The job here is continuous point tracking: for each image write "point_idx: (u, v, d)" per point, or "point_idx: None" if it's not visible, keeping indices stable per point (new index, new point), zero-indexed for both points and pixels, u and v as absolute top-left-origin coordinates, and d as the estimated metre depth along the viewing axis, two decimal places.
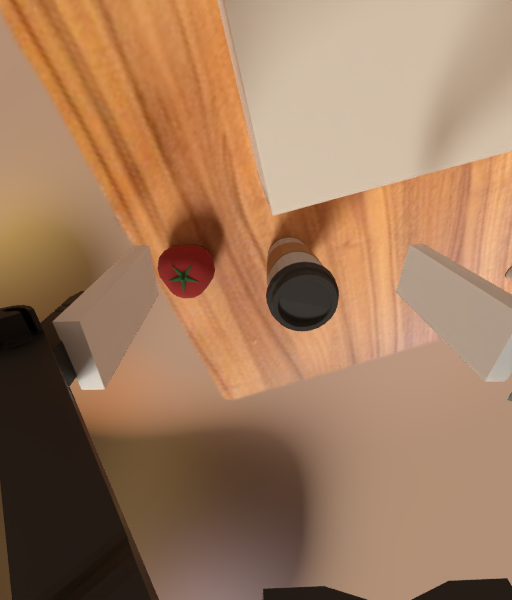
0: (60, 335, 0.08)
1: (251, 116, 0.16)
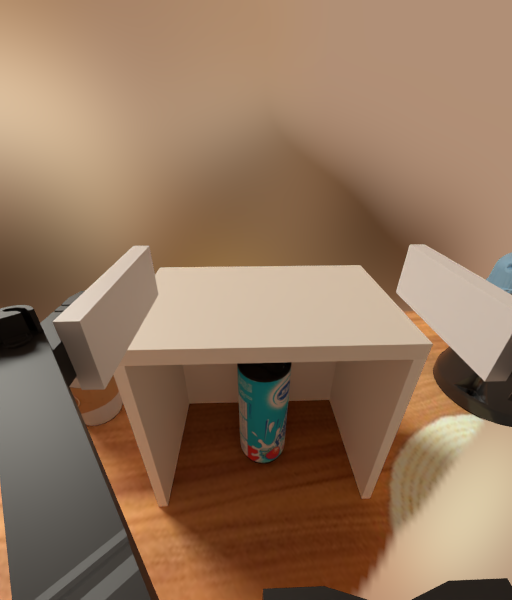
0: (60, 335, 0.08)
1: (208, 267, 0.33)
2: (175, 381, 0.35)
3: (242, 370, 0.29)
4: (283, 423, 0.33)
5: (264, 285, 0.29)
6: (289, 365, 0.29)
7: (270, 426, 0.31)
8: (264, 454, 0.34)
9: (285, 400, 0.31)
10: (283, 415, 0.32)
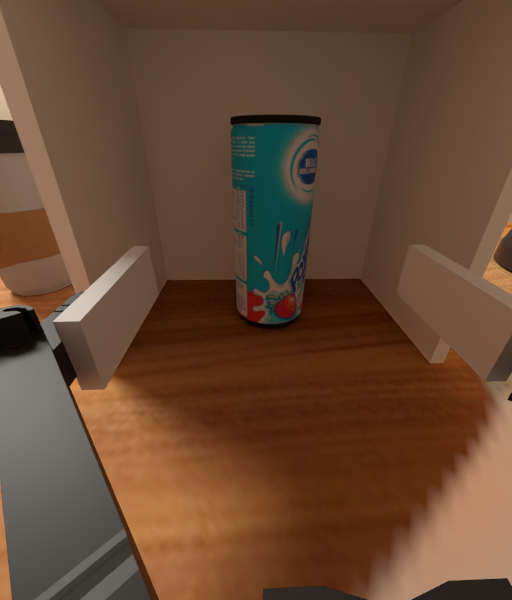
0: (60, 335, 0.08)
1: None
2: (138, 203, 0.23)
3: None
4: (303, 249, 0.21)
5: None
6: None
7: (284, 240, 0.19)
8: (272, 306, 0.22)
9: (309, 193, 0.19)
10: (304, 228, 0.20)
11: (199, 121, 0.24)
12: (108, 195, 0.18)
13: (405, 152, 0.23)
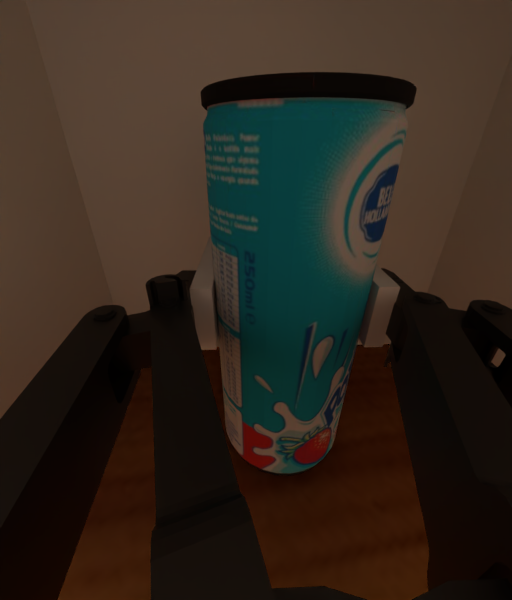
0: (192, 301, 0.10)
1: None
2: (50, 254, 0.13)
3: None
4: (352, 355, 0.11)
5: None
6: None
7: (318, 353, 0.09)
8: (290, 451, 0.12)
9: (375, 257, 0.09)
10: (358, 323, 0.10)
11: (160, 109, 0.14)
12: None
13: None
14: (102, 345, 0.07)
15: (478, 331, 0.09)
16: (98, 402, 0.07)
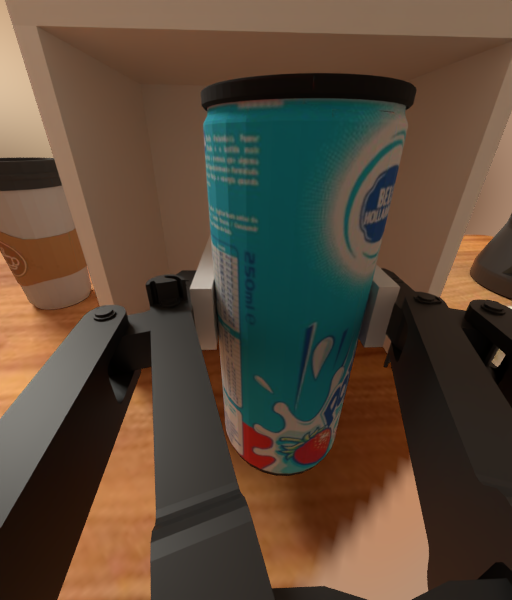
0: (192, 301, 0.10)
1: None
2: (150, 231, 0.27)
3: None
4: (352, 355, 0.11)
5: None
6: None
7: (318, 353, 0.09)
8: (290, 451, 0.12)
9: (375, 258, 0.09)
10: (358, 323, 0.10)
11: (203, 159, 0.27)
12: (128, 230, 0.22)
13: None
14: (102, 345, 0.07)
15: (478, 331, 0.09)
16: (98, 402, 0.07)
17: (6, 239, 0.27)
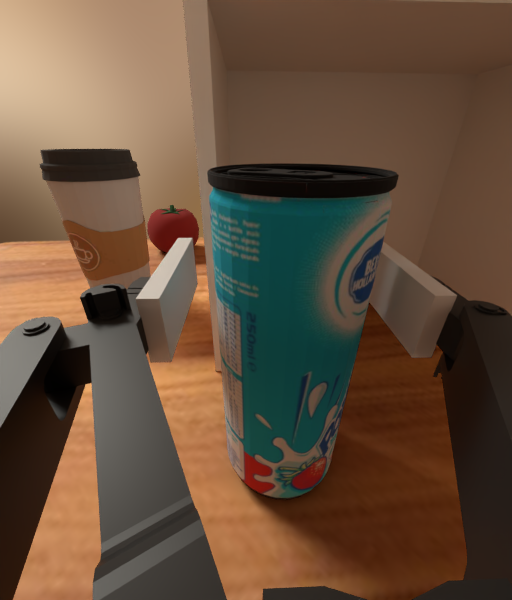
0: (140, 311, 0.09)
1: None
2: None
3: None
4: (345, 392, 0.12)
5: None
6: (390, 175, 0.08)
7: (313, 396, 0.10)
8: (288, 479, 0.13)
9: (364, 312, 0.10)
10: (350, 366, 0.11)
11: (282, 148, 0.27)
12: None
13: (469, 178, 0.25)
14: (34, 360, 0.07)
15: None
16: (34, 421, 0.06)
17: (82, 232, 0.26)
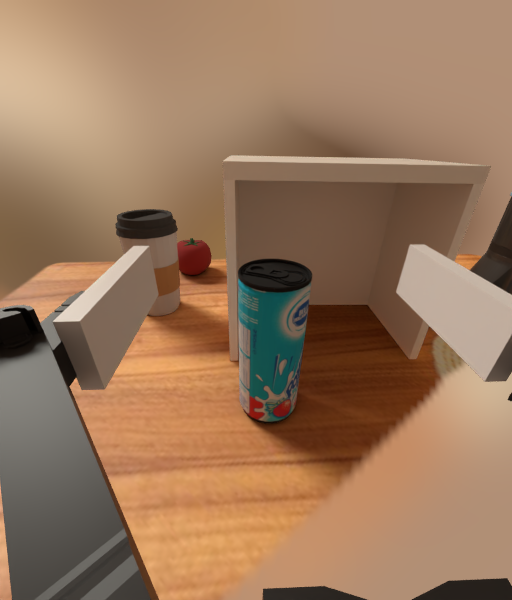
0: (60, 335, 0.08)
1: (273, 156, 0.37)
2: None
3: (245, 280, 0.21)
4: (297, 366, 0.25)
5: None
6: (309, 277, 0.22)
7: (281, 365, 0.23)
8: (271, 409, 0.26)
9: (302, 329, 0.23)
10: (298, 353, 0.24)
11: (273, 214, 0.40)
12: None
13: (396, 236, 0.39)
14: None
15: None
16: None
17: None
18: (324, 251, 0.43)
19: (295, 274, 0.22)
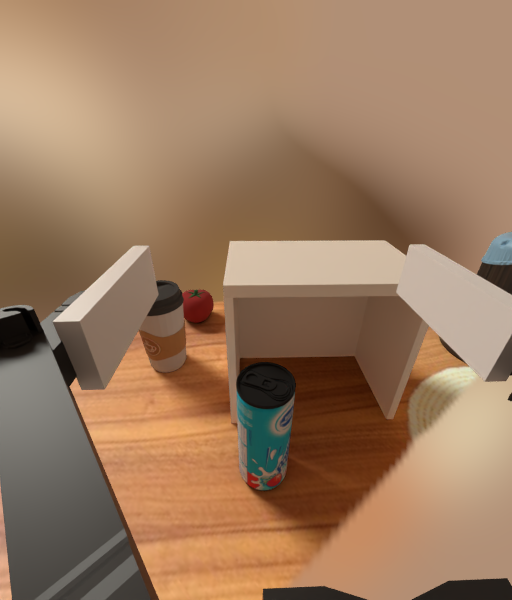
0: (60, 335, 0.08)
1: (267, 241, 0.43)
2: None
3: (242, 394, 0.26)
4: (286, 449, 0.30)
5: (315, 252, 0.38)
6: (293, 389, 0.27)
7: (272, 453, 0.29)
8: (265, 482, 0.31)
9: (288, 426, 0.28)
10: (286, 441, 0.29)
11: None
12: None
13: (376, 307, 0.44)
14: None
15: None
16: None
17: (152, 337, 0.45)
18: (314, 314, 0.48)
19: (282, 384, 0.28)
